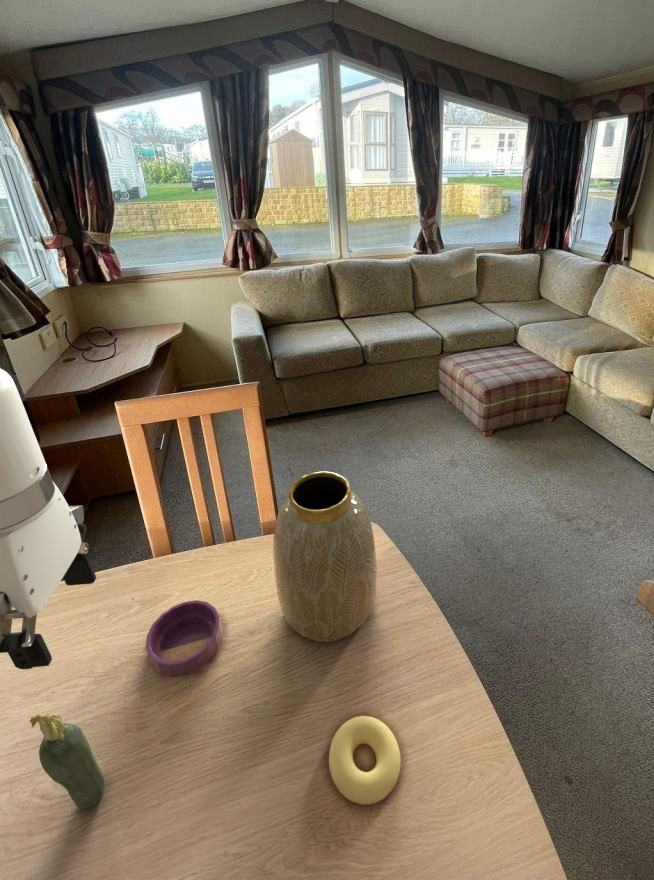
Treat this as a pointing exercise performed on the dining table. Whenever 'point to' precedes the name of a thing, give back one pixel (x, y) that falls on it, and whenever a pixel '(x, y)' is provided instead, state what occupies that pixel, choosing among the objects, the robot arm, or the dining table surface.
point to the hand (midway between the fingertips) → (60, 619)
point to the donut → (345, 772)
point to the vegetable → (70, 760)
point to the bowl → (184, 637)
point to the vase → (324, 558)
